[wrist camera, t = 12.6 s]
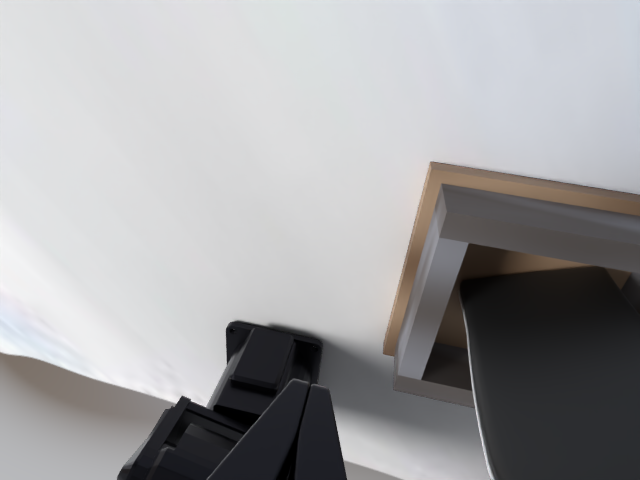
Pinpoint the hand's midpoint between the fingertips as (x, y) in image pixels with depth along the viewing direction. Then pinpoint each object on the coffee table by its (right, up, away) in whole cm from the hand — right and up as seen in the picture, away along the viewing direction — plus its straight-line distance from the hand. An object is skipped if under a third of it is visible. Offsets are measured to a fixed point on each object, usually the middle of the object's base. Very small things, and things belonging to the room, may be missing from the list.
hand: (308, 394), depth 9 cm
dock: (+11, +1, +12) cm, 16 cm away
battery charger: (+11, +1, +12) cm, 16 cm away
